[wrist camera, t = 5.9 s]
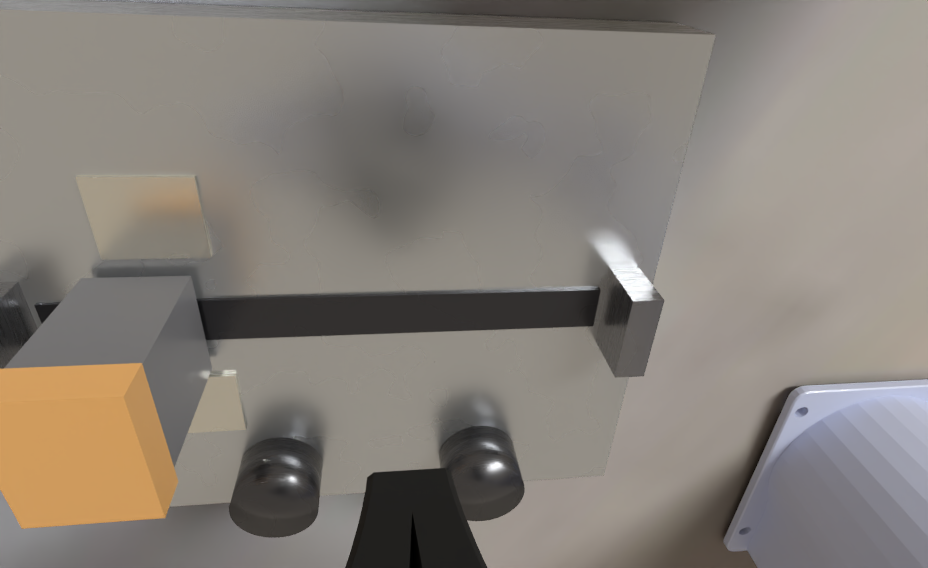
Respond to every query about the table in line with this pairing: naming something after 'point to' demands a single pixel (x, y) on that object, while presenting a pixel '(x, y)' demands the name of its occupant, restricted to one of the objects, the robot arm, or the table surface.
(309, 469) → the console
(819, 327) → the table surface
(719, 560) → the table surface
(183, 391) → the fader tab
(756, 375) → the table surface
